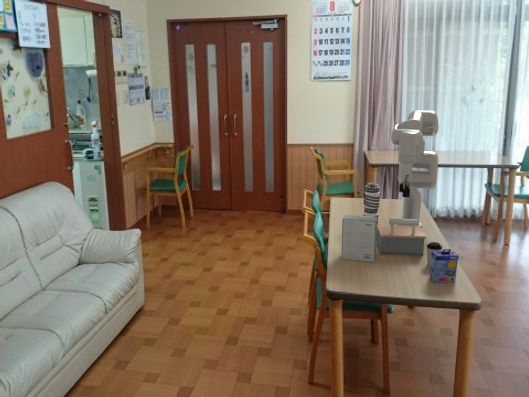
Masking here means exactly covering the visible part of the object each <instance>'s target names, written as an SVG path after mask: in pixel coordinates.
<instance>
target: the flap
mask: <svg viewBox="0 0 529 397" xmlns="http://www.w3.org/2000/svg"><path fill="white" fill-rule="evenodd" d="M404 225H412V226H404ZM415 225H418V219H402V218H388V224H378V225H377V229H378V231H379V234H380V236H381V237H390V238H425V239H427V235H426V234H425V232H424V230H423V228H422V227H420V226H415Z"/></svg>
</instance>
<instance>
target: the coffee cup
mask: <svg viewBox="0 0 529 397" xmlns="http://www.w3.org/2000/svg"><path fill="white" fill-rule="evenodd" d="M442 250H443V246H442V245H441V244H440V243H439V242H437V241H431V242H429V243H427V245H426V255H427V256H426V259H427V266H429V267H430V266H431V255H432V252H434V251H442Z"/></svg>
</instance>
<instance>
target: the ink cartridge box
mask: <svg viewBox="0 0 529 397" xmlns="http://www.w3.org/2000/svg"><path fill="white" fill-rule="evenodd" d="M458 262H459V255H458V253H456V252H455V251H453V250H452V249H451V248H449V249H447V248H446V249H444V248H442V250H441V251H434V252H432V255H431V266H429V279H430V280H431V281H432V282H433V283H455V282H456V278H457V269H458Z"/></svg>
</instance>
